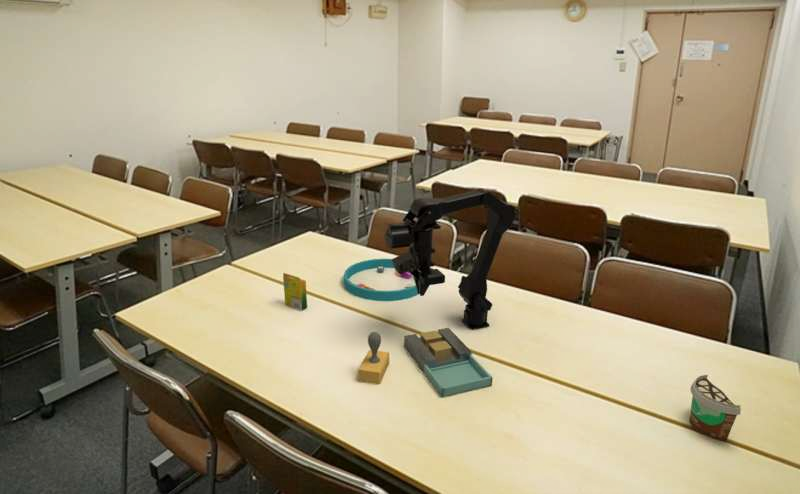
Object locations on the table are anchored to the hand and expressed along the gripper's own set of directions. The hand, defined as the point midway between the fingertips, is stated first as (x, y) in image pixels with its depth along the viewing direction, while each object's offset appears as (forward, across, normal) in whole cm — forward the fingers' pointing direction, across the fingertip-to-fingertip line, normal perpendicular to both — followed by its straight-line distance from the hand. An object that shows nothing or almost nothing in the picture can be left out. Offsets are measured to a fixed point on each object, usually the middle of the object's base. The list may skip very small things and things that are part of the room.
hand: (420, 294), depth 153 cm
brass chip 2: (+11, +14, 0) cm, 18 cm away
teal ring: (+14, -38, +3) cm, 41 cm away
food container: (+13, +60, +44) cm, 76 cm away
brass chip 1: (+11, +8, 0) cm, 14 cm away
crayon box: (+13, -30, -31) cm, 45 cm away
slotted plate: (+13, +12, 0) cm, 18 cm away
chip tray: (+13, +24, 0) cm, 28 cm away
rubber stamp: (+13, +14, -19) cm, 27 cm away
